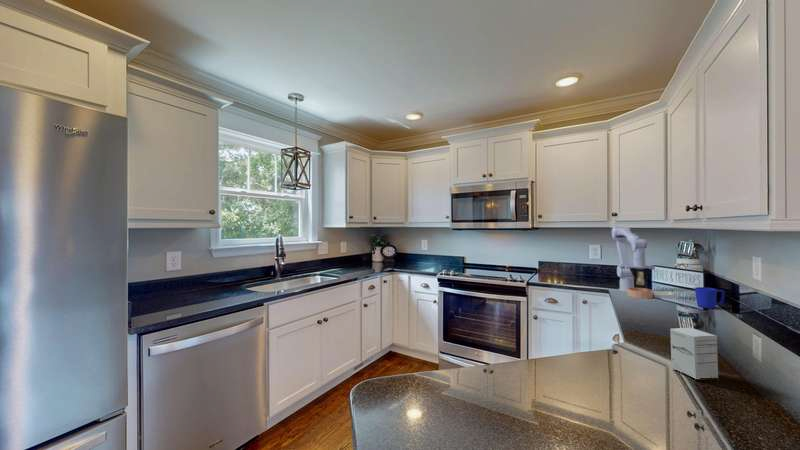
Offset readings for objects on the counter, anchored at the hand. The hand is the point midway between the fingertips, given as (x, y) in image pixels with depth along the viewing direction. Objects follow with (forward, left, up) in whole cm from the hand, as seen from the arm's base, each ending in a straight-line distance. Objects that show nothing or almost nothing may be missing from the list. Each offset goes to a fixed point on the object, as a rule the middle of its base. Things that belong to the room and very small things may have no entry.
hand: (640, 280), depth 188 cm
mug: (+20, +24, -10) cm, 33 cm away
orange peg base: (0, 0, -10) cm, 10 cm away
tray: (-4, +12, -10) cm, 16 cm away
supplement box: (+114, -22, -10) cm, 117 cm away
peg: (0, 0, -2) cm, 2 cm away
